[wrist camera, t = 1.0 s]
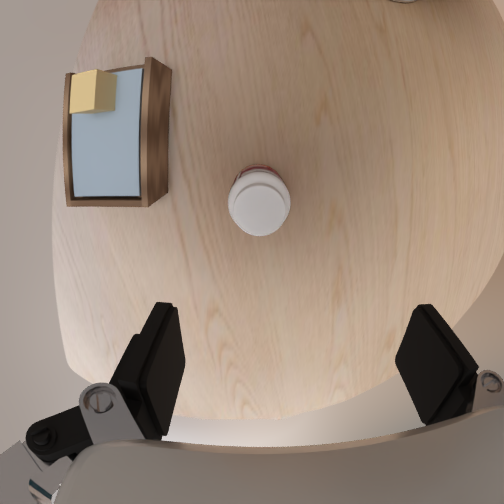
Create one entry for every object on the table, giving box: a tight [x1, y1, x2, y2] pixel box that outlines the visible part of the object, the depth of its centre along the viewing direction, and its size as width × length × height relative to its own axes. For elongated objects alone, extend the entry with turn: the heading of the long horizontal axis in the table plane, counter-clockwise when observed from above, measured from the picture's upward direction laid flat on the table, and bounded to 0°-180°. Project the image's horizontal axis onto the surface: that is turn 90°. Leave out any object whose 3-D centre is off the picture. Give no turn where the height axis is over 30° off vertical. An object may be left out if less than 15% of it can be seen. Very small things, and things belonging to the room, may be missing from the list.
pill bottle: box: [228, 165, 291, 236], centre depth 30 cm, size 6×6×11 cm
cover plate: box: [70, 68, 144, 197], centre depth 24 cm, size 14×9×5 cm, turn 177°
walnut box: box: [63, 57, 172, 207], centre depth 29 cm, size 16×11×7 cm
